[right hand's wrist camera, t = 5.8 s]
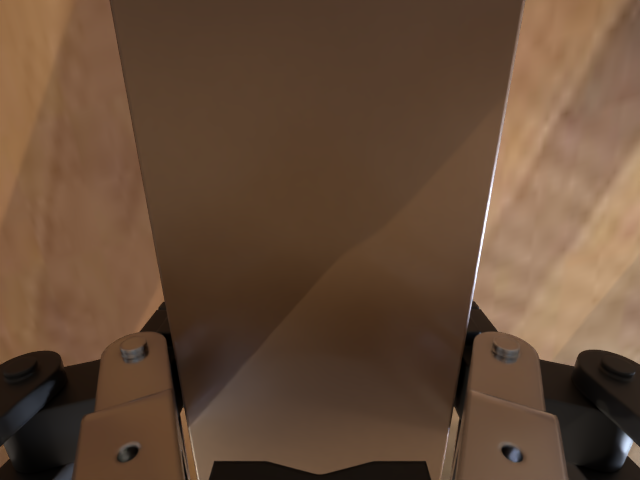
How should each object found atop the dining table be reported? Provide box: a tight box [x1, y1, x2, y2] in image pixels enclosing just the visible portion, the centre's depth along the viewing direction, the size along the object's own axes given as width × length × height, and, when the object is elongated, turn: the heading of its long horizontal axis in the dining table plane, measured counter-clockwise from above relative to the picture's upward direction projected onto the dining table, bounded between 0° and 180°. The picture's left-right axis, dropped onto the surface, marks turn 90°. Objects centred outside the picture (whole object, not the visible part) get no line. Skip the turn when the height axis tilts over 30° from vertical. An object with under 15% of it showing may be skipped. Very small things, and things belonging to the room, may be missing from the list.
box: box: [110, 0, 525, 480], centre depth 9 cm, size 23×6×9 cm, turn 0°
